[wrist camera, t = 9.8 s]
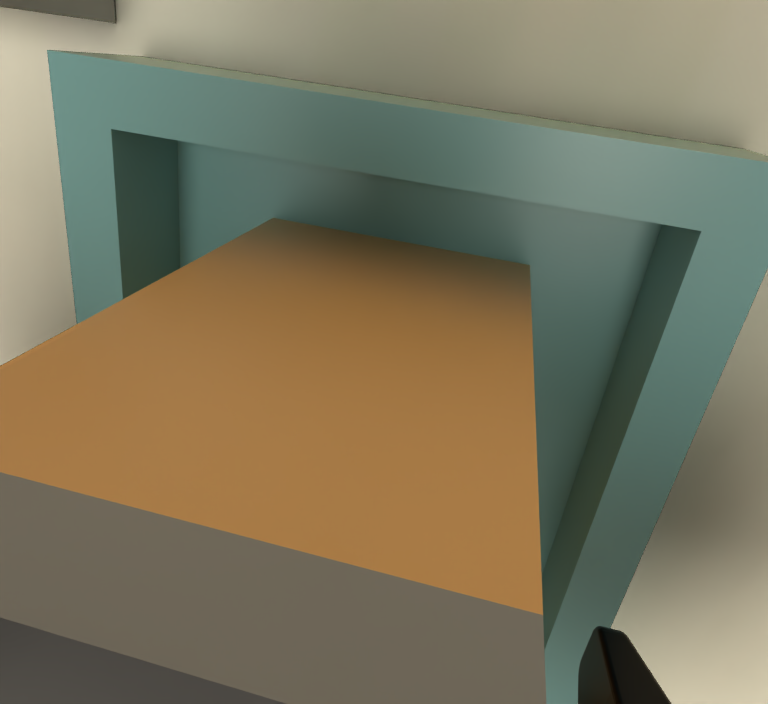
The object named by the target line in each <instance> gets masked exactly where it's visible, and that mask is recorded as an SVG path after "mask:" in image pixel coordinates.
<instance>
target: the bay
mask: <svg viewBox="0 0 768 704" xmlns="http://www.w3.org/2000/svg"><path fill="white" fill-rule="evenodd" d="M0 6H1V7H8V8H15V9H21V10H28V11H35V12H42V13H49V14H56V15H63V16H70V17H77V18H84V19H90V20H97V21H104V22H111V23H115V6H114V0H0Z"/></svg>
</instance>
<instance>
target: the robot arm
mask: <svg viewBox="0 0 768 704" xmlns="http://www.w3.org/2000/svg"><path fill="white" fill-rule="evenodd" d="M578 704H671V702H670V701H669V699H668V698H667V696H666V695H665V693H664V691H663V690H662V688H661V687H660V685H659V684H658V682H657V681H656V679H655V678H654V676H653V675H652V673H651V672H650V670H649V669H648V667H647V666H646V664H645V662H644V661H643V659H642V658H641V656H640V655H639V653H638V652H637V650H636V649H635V647H634V646H633V644H632V643H631V641H630V640H629V638H628V637H627V635H626V634H624V633H623V632H621V631H618V630H615V629H611V628H607V627H603V626H597V627H596V628H595V629H594V630H593V632H592V634H591V637H590V639H589V641H588V644H587V646H586V649H585V651H584V653H583V656H582V658H581V661H580V665H579V672H578Z"/></svg>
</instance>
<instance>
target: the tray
mask: <svg viewBox="0 0 768 704" xmlns="http://www.w3.org/2000/svg"><path fill="white" fill-rule="evenodd" d="M47 53H48V62H49V71H50V80H51V90H52V99H53V108H54V117H55V127H56V136H57V145H58V154H59V164H60V173H61V182H62V191H63V200H64V210H65V219H66V228H67V237H68V247H69V256H70V265H71V274H72V284H73V293H74V302H75V311H76V321H77V324H78V323H80V322H82V321H84V320H86V319H88V318H90V317H91V316H93V315H95V314H97V313H99V312H101V311H102V310H104V309H106V308H108V307H110V306H112V305H113V304H115V303H117V302H119V301H121V300H123V299H125V298H126V297H128V296H130V295H132V294H134V293H136V292H137V291H139V290H141V289H143V288H145V287H147V286H148V285H150V284H152V283H154V282H156V281H158V280H160V279H161V278H163V277H165V276H167V275H169V274H171V273H172V272H174V271H176V270H178V269H180V268H182V267H183V266H185V265H187V264H189V263H191V262H193V261H195V260H196V259H198V258H200V257H202V256H204V255H206V254H207V253H209V252H211V251H213V250H215V249H217V248H218V247H220V246H222V245H224V244H226V243H228V242H230V241H231V240H233V239H235V238H237V237H239V236H241V235H242V234H244V233H246V232H248V231H250V230H252V229H253V228H255V227H257V226H259V225H261V224H263V223H264V222H266V221H268V220H270V219H272V218H277V219H282V220H288V221H293V222H299V223H304V224H310V225H315V226H320V227H326V228H331V229H337V230H342V231H348V232H353V233H358V234H364V235H369V236H375V237H380V238H386V239H391V240H396V241H402V242H407V243H413V244H418V245H424V246H429V247H435V248H440V249H445V250H451V251H456V252H462V253H467V254H473V255H478V256H483V257H489V258H494V259H500V260H505V261H511V262H516V263H521V264H527V265H530V283H531V310H532V336H533V362H534V389H535V415H536V441H537V468H538V494H539V520H540V547H541V573H542V599H543V626H544V652H545V678H546V704H577V703H578V672H579V665H580V661H581V658H582V656H583V653H584V651H585V649H586V646H587V644H588V641H589V639H590V637H591V634H592V632H593V630H594V629H595V628H596V627H597V626H603V627H607V628H611V625H612V623H613V621H614V618H615V616H616V614H617V612H618V609H619V607H620V605H621V602H622V600H623V598H624V596H625V593H626V591H627V589H628V586H629V584H630V582H631V580H632V577H633V575H634V573H635V570H636V568H637V566H638V564H639V561H640V559H641V557H642V554H643V552H644V550H645V548H646V545H647V543H648V541H649V538H650V536H651V534H652V532H653V529H654V527H655V525H656V522H657V520H658V518H659V516H660V513H661V511H662V509H663V506H664V504H665V502H666V500H667V497H668V495H669V493H670V490H671V488H672V486H673V483H674V481H675V479H676V477H677V474H678V472H679V470H680V467H681V465H682V463H683V461H684V458H685V456H686V454H687V451H688V449H689V447H690V445H691V442H692V440H693V438H694V435H695V433H696V431H697V429H698V426H699V424H700V422H701V419H702V417H703V415H704V413H705V410H706V408H707V406H708V403H709V401H710V399H711V397H712V394H713V392H714V390H715V387H716V385H717V383H718V381H719V378H720V376H721V374H722V371H723V369H724V367H725V365H726V362H727V360H728V358H729V355H730V353H731V351H732V349H733V346H734V344H735V342H736V339H737V337H738V335H739V333H740V330H741V328H742V326H743V323H744V321H745V319H746V317H747V314H748V312H749V310H750V307H751V305H752V303H753V300H754V298H755V296H756V294H757V291H758V289H759V287H760V284H761V282H762V280H763V278H764V275H765V273H766V271H767V268H768V156H766V155H763V154H760V153H756V152H753V151H750V150H746V149H740V148H734V147H727V146H721V145H714V144H708V143H701V142H695V141H688V140H682V139H675V138H669V137H662V136H656V135H649V134H643V133H636V132H630V131H623V130H617V129H610V128H604V127H597V126H591V125H584V124H578V123H571V122H565V121H558V120H552V119H545V118H539V117H532V116H526V115H519V114H513V113H506V112H500V111H493V110H487V109H480V108H474V107H467V106H461V105H454V104H448V103H441V102H435V101H428V100H422V99H415V98H409V97H402V96H396V95H389V94H383V93H376V92H370V91H363V90H357V89H350V88H344V87H338V86H331V85H325V84H318V83H312V82H305V81H299V80H292V79H286V78H279V77H273V76H266V75H260V74H253V73H247V72H240V71H234V70H227V69H221V68H214V67H208V66H201V65H195V64H188V63H182V62H175V61H169V60H162V59H156V58H149V57H143V56H130V55H115V54H100V53H86V52H71V51H56V50H47Z"/></svg>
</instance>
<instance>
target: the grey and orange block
mask: <svg viewBox="0 0 768 704" xmlns="http://www.w3.org/2000/svg"><path fill="white" fill-rule="evenodd" d="M0 704H546V678H545V652H544V626H543V599H542V573H541V547H540V520H539V494H538V468H537V441H536V415H535V389H534V362H533V336H532V310H531V283H530V265H527V264H521V263H516V262H511V261H505V260H500V259H494V258H489V257H483V256H478V255H473V254H467V253H462V252H456V251H451V250H445V249H440V248H435V247H429V246H424V245H418V244H413V243H407V242H402V241H396V240H391V239H386V238H380V237H375V236H369V235H364V234H358V233H353V232H348V231H342V230H337V229H331V228H326V227H320V226H315V225H310V224H304V223H299V222H293V221H288V220H282V219H277V218H272V219H270V220H268V221H266V222H264V223H263V224H261V225H259V226H257V227H255V228H253V229H252V230H250V231H248V232H246V233H244V234H242V235H241V236H239V237H237V238H235V239H233V240H231V241H230V242H228V243H226V244H224V245H222V246H220V247H218V248H217V249H215V250H213V251H211V252H209V253H207V254H206V255H204V256H202V257H200V258H198V259H196V260H195V261H193V262H191V263H189V264H187V265H185V266H183V267H182V268H180V269H178V270H176V271H174V272H172V273H171V274H169V275H167V276H165V277H163V278H161V279H160V280H158V281H156V282H154V283H152V284H150V285H148V286H147V287H145V288H143V289H141V290H139V291H137V292H136V293H134V294H132V295H130V296H128V297H126V298H125V299H123V300H121V301H119V302H117V303H115V304H113V305H112V306H110V307H108V308H106V309H104V310H102V311H101V312H99V313H97V314H95V315H93V316H91V317H90V318H88V319H86V320H84V321H82V322H80V323H78V324H77V325H75V326H73V327H71V328H69V329H67V330H66V331H64V332H62V333H60V334H58V335H56V336H55V337H53V338H51V339H49V340H47V341H45V342H44V343H42V344H40V345H38V346H36V347H34V348H32V349H31V350H29V351H27V352H25V353H23V354H21V355H20V356H18V357H16V358H14V359H12V360H10V361H9V362H7V363H5V364H3V365H1V366H0Z"/></svg>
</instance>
